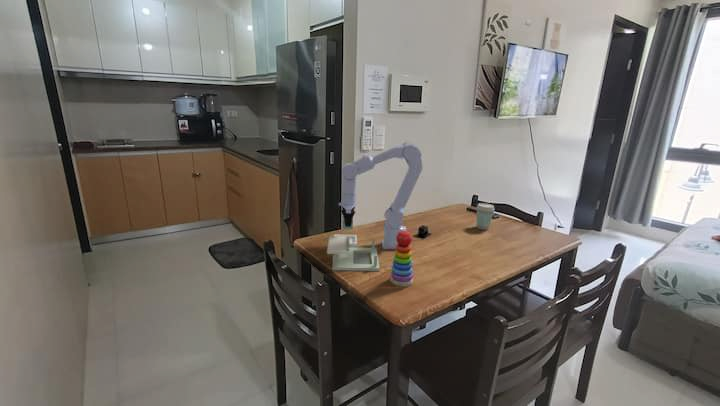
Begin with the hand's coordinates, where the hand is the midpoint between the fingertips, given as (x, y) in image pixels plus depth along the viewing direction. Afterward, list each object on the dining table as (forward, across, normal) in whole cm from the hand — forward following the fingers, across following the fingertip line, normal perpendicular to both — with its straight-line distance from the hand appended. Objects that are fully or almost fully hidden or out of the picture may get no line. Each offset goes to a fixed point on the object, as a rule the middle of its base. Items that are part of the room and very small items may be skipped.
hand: (347, 224), depth 142 cm
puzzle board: (+9, +14, +3) cm, 17 cm away
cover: (+3, +14, -3) cm, 15 cm away
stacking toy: (+10, +30, +18) cm, 37 cm away
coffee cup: (+10, -25, +68) cm, 73 cm away
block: (+1, 0, 0) cm, 1 cm away
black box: (+10, -14, +36) cm, 39 cm away
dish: (+9, -3, -1) cm, 10 cm away
